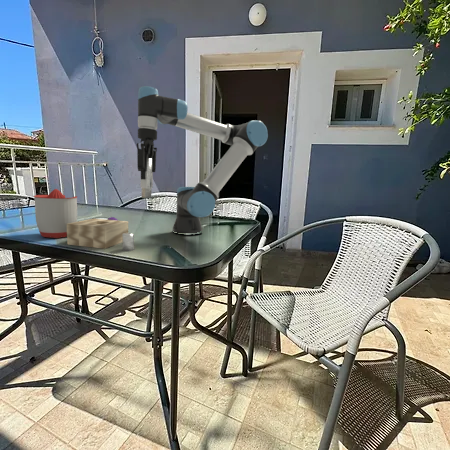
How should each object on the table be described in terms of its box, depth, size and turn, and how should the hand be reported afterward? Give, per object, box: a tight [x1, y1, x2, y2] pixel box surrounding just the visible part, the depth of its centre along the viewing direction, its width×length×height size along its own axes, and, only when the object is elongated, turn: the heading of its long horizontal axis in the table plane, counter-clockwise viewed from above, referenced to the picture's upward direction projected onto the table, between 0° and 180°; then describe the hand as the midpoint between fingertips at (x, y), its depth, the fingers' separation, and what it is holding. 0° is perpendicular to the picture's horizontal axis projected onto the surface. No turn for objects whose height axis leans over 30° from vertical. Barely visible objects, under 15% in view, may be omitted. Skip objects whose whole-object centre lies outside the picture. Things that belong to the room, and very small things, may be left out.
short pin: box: [121, 232, 135, 252], centre depth 99 cm, size 4×4×6 cm
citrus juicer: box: [33, 188, 78, 239], centre depth 114 cm, size 16×17×20 cm
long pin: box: [141, 158, 153, 199], centre depth 111 cm, size 4×4×16 cm
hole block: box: [66, 218, 129, 250], centre depth 108 cm, size 16×16×8 cm
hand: (146, 187), depth 111 cm, fingers closed on long pin, 4 cm apart
